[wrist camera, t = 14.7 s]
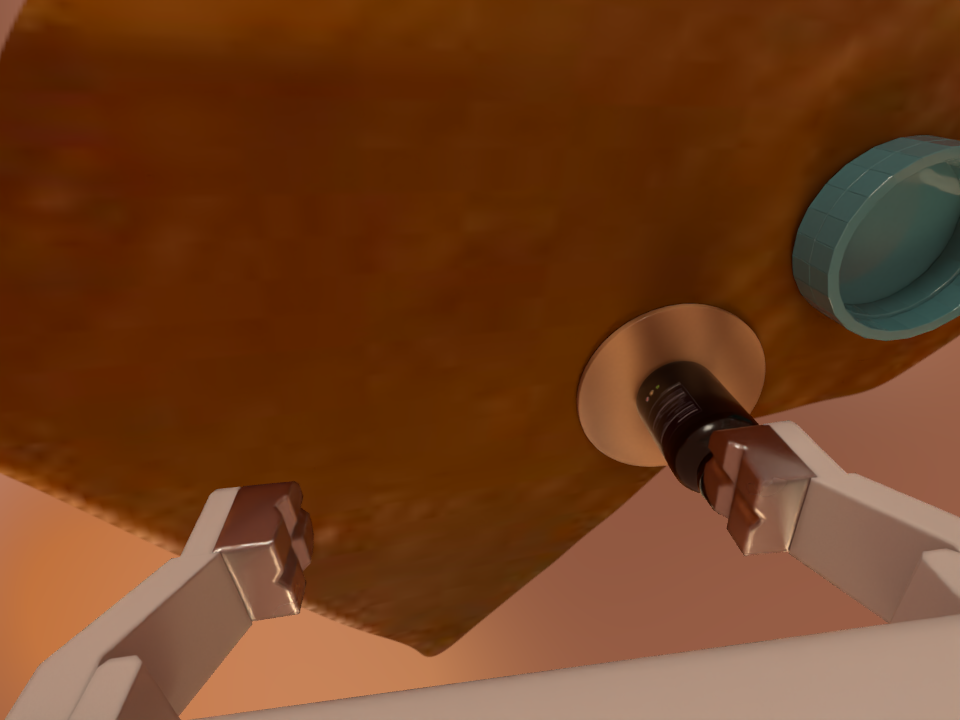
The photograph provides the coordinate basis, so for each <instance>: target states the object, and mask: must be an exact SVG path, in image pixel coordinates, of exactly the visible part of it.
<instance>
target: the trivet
mask: <svg viewBox="0 0 960 720" xmlns="http://www.w3.org/2000/svg"><path fill="white" fill-rule="evenodd" d="M676 361H692V362H696V363H699V364H701V365H703V366H704V367H706V368H707V369H708V370H709V371H710V372H711V373H712V374H713V375H714V376H715V377H716V378H717V379H718V380H719V381H720V382H721V383H722V384H723V386H724V387H725V388H726V389H727V390H728V391H729V392H730V393H731V394H732V395H733V397H734V398H735V399H736V400H737V401H738V402H739V403H740V404H741V405H742V406H743V408H744V409H745V410H746V411H747V412H748V413H749V414H750V413H751V411H752V410H753V408H754V406H755V405H756V403H757V400H758V398H759V396H760V394H761V391H762V387H763V384H764V378H765V358H764V352H763V349H762V346H761V344H760V341H759V340H758V338H757V336H756V335H755V333H754V332H753V331H752V330H751V328H750V327H749V326H748V325H747V324H746V323H744V322H743V321H742V320H741V319H739V318H738V317H737V316H735V315H733V314H732V313H730V312H728V311H726V310H723V309H721V308H718V307H714V306H709V305H704V304H678V305H672V306H666V307H663V308H659V309H656V310H652V311H650V312H648V313H645V314H643V315H640V316H639V317H637V318H635V319H633V320H631V321H629V322H628V323H626V324H625V325H623V326H622V327H620V328H619V329H618V330H616V331H615V332H614V333H613V334H612V335H610V336H609V337H608V338H607V339H606V340H605V341H604V342H603V343H602V344H601V346H600V347H599V348H598V349H597V350H596V352H595V353H594V354H593V356H592V357H591V358H590V360H589V362H588V364H587V366H586V367H585V369H584V372H583V374H582V377H581V379H580V383H579V387H578V392H577V412H578V416H579V421H580V423H581V425H582V428H583V430H584V432H585V434H586V436H587V437H588V439H589V440H590V441H591V443H592V444H593V445H594V446H595V447H596V448H597V449H598V450H600V451H601V452H602V453H603V454H605V455H607V456H609V457H610V458H612V459H614V460H617V461H619V462H622V463H626V464H630V465H635V466H646V467H654V466H665V465H668V463H667V462H666V460H665V458H664V457H663V455H662V453H661V452H660V450H659V448H658V447H657V445H656V443H655V442H654V440H653V438H652V436H651V435H650V433H649V431H648V430H647V428H646V426H645V425H644V423H643V421H642V420H641V418H640V416H639V414H638V411H637V407H636V398H637V394H638V391H639V388H640V386H641V384H642V383H643V381H644V380H645V379H646V378H647V377H648V376H649V375H650V374H651V373H652V372H653V371H654V370H656V369H657V368H659V367H661V366H663V365H665V364H668V363H671V362H676Z"/></svg>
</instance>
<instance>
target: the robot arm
mask: <svg viewBox="0 0 960 720" xmlns="http://www.w3.org/2000/svg"><path fill="white" fill-rule="evenodd" d="M708 448H709V449H710V451H711V452H712V453H713V455H714V456H713V457H712V458H711V459H710V460H709V461H708V462H707V463H706V464H705V470H704V484H705V491H706V494H707V496H708V499H709V501H710V503H711V505H712V506H713V508H714V509H715V511H716V512H718V513H720V514H721V515H723V516H725V517H726V518H728V524H727V530H728V531H729V533H730V535H731V536H732V537H733V539H734V540H735V542H736V544H737V545H738V547H739V549H740V550H741V552H742V553H743V555H744V556H747V555H757V554H767V553H777V552H786V551H789V554H790V555H791V556H793V557H794V558H796V559H797V560H799V561H800V562H802V563H803V564H804V565H806V566H807V567H809V568H810V569H812V570H813V571H814V572H816V573H817V574H819V575H820V576H822V577H823V578H824V579H826V580H827V581H829V582H830V583H832V584H833V585H835V586H836V587H837V588H839V589H840V590H842V591H843V592H845V593H846V594H847V595H849V596H851V597H852V598H853V599H855V600H856V601H858V602H859V603H861V604H862V605H863V606H865V607H866V608H868V609H869V610H870V611H872V612H874V613H875V614H876V615H878V616H879V617H881V618H882V619H884V620H885V621H886V622H888V623H889V624H884V625H876V626H869V627H862V628H854V629H847V630H840V631H833V632H825V633H818V634H811V635H804V636H796V637H789V638H781V639H774V640H767V641H760V642H753V643H745V644H738V645H731V646H725V647H716V648H709V649H702V650H695V651H688V652H681V653H673V654H666V655H658V656H651V657H644V658H638V659H630V660H622V661H615V662H608V663H600V664H593V665H586V666H578V667H571V668H564V669H556V670H549V671H542V672H534V673H527V674H520V675H513V676H505V677H498V678H490V679H483V680H476V681H469V682H462V683H454V684H447V685H440V686H432V687H425V688H417V689H410V690H403V691H396V692H388V693H381V694H374V695H366V696H359V697H352V698H345V699H337V700H330V701H323V702H316V703H308V704H301V705H294V706H287V707H279V708H272V709H265V710H257V711H250V712H243V713H235V714H228V715H221V716H214V717H207V718H200V719H192V720H960V517H958V516H955V515H953V514H951V513H948V512H946V511H944V510H941V509H939V508H936V507H934V506H932V505H929V504H927V503H925V502H922V501H920V500H917V499H915V498H913V497H910V496H908V495H906V494H903V493H901V492H899V491H896V490H894V489H892V488H889V487H887V486H885V485H882V484H880V483H878V482H875V481H873V480H870V479H868V478H866V477H863V476H861V475H859V474H856V473H852V474H847V473H846V472H845V471H844V470H843V469H842V468H841V467H840V466H839V465H838V464H837V463H836V462H835V461H833V460H832V458H831V457H829V455H827V454H826V453H825V452H824V451H823V450H822V449H821V448H820V447H819V446H818V445H817V444H816V443H815V442H814V441H813V440H812V439H811V438H810V437H809V436H808V435H807V434H806V433H805V432H804V431H803V430H802V429H801V428H800V427H799V426H798V425H797V424H796V423H794V422H791V421H782V422H774V423H767V424H763V425H756V426H748V427H740V428H732V429H725V430H717V431H713V433H712V435H711V436H710V440H709V445H708ZM302 500H303V494H302V491H301V488H300V486H299V483H297V482H295V481H292V482H281V483H271V484H261V485H251V486H243V487H235V488H225V489H216V490H215V491H214V492H213V493H211V494H210V496H209V498H208V500H207V502H206V504H205V506H204V508H203V510H202V512H201V515H200V517H199V519H198V521H197V523H196V525H195V527H194V529H193V531H192V533H191V535H190V537H189V539H188V541H187V543H186V546H185V548H184V550H183V552H182V554H181V556H180V557H178V558H172V559H170V560H169V561H168V562H167V563H165V564H164V565H163V566H162V567H160V568H159V569H158V570H157V571H155V572H154V573H153V574H152V575H150V576H149V577H148V578H147V579H145V580H144V581H143V582H142V583H140V584H139V585H138V586H137V587H136V588H134V589H133V590H132V591H130V592H129V593H128V594H127V595H126V596H125V597H123V598H122V599H121V600H119V601H118V602H117V603H116V604H114V605H113V606H112V607H111V608H109V609H108V610H107V611H106V612H104V613H103V614H102V615H101V616H100V617H98V618H97V619H96V620H95V621H93V622H92V623H91V624H90V625H88V626H87V627H86V628H85V629H83V630H82V631H81V632H80V633H78V634H77V635H76V636H75V637H73V638H72V639H71V640H70V641H68V642H67V643H66V644H65V645H64V646H62V647H61V648H60V649H59V650H57V651H56V652H55V653H54V654H52V655H51V656H50V657H49V658H47V659H46V660H45V661H44V662H42V663H41V664H40V665H39V666H38V667H37V669H36V671H35V672H34V674H33V676H32V677H31V679H30V680H29V682H28V683H27V685H26V687H25V688H24V690H23V691H22V693H21V694H20V696H19V698H18V699H17V701H16V703H15V704H14V706H13V707H12V709H11V710H10V712H9V714H8V715H7V717H6V719H5V720H180V718H179V717H178V716H179V715H180V714H181V713H182V711H183V710H184V709H185V708H186V706H187V705H188V704H189V703H190V701H191V700H192V699H193V698H194V696H195V695H196V694H197V693H198V691H199V690H200V689H201V688H202V686H203V685H204V684H205V683H206V681H207V680H208V679H209V678H210V676H211V675H212V674H213V673H214V671H215V670H216V669H217V668H218V666H219V665H220V664H221V663H222V661H223V660H224V659H225V658H226V656H227V655H228V654H229V653H230V651H231V650H232V649H233V648H234V646H235V645H236V644H237V643H238V641H239V640H240V639H241V638H242V636H243V635H244V634H245V633H246V631H247V630H248V629H249V628H250V626H251V625H252V622H251V621H257V620H264V619H270V618H276V617H283V616H288V615H295V614H299V613H300V608H301V604H302V600H303V595H304V591H305V586H306V580H305V577H304V574H303V570H304V569H305V568H306V567H307V566H308V565H309V564H310V563H311V558H312V553H313V539H314V534H313V527H312V522H311V518H310V515H309V513H308V512H306V511H305V510H303V509H302V508H301V504H302Z"/></svg>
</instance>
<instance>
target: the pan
mask: <svg viewBox="0 0 960 720" xmlns="http://www.w3.org/2000/svg"><path fill="white" fill-rule="evenodd" d="M792 254H793V255H792V262H793V276H794V278H795V281H796V283H797V286H798V288H799V291H800V293H801V295H802V296H803V297H804V298H805V299H806V300H807V301H808V302H809V303H810V304H811V306H813V307H814V308H816V309H817V310H819V311H820V312H822V313H823V314H825V315H826V316H828V317H829V318H831V319H832V320H834V321H835V322H837V323H838V324H840V325H841V326H843V327H844V328H846V329H848V330H849V331H852V332H854V333H856V334H858V335H860V336H862V337H864V338H869V339H876V340H883V341H889V340H897V339H906V338H910V337H913V336H916V335H919V334H922V333H925V332H928V331H931V330H934V329H936V328H938V327H939V326H941V325H943V324H945V323H947V322H949V321H951V320H952V319H954V318H956V317H957V316H959V315H960V141H958V140H952V139H946V138H941V137H935V136H929V135H920V136H910V137H901V138H897V139H895V140H892V141H889V142H886V143H884V144H881V145H878V146H876V147H874V148H872V149H870V150H868V151H867V152H865V153H864V154H862V155H860V156H859V157H857V158H856V159H854V160H852V161H851V162H849V163H847V164H846V165H845V166H844V167H843V168H842V169H841V170H840V171H839V172H838V173H837V174H836V175H835V176H833V177H832V178H831V179H830V180H829V181H828V182H827V183H826V184H825V186H824V187H823V188H822V190H821V191H820V192H819V194H818V195H817V196H816V198H815V199H814V200H813V202H812V203H811V205H810V206H809V207H808V209H807V212H806V214H805V216H804V218H803V220H802V222H801V224H800V226H799V229H798V232H797V235H796V240H795V244H794V249H793V253H792Z"/></svg>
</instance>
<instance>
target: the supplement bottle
mask: <svg viewBox="0 0 960 720" xmlns="http://www.w3.org/2000/svg"><path fill="white" fill-rule="evenodd" d="M636 407H637V411H638V414H639V416H640V418H641V420H642V421H643V423H644V425H645V426H646V428H647V430H648V431H649V433H650V435H651V436H652V438H653V440H654V442H655V443H656V445H657V447H658V448H659V450H660V452H661V453H662V455H663V457H664V458H665V460H666V462H667V463H668V465H669V467H670V468H671V470H672V472H673V473H674V475H675V477H676V478H677V479H678V481H679V482H680V483H681V484H682V485H684V486H685V487H687V488H689V489H690V490H692V491H695V492H698V493H701V494H702V496H703V497H704V498H705V499H706V500H707V501H708V503H709V504H710V506H711V507H712V509H713V510H714V511H715V509H714V508H713V506H712V505H711V503H710V501H709V499H708V496H707V494H706V491H705V484H704V470H705V464H706V463H707V462H708V461H709V460H710V459H711V458H712V457H713V456H714V455H713V453H712V452H711V451H710V449H709V448H708V445H709V440H710V436H711V435H712V433H713V431H717V430H725V429H732V428H740V427H748V426H756V425H759V424H758V423H757V422H756V421H755V420H754V419H753V418H752V416H751V415H750V414H749V413H748V412H747V411H746V410H745V409H744V408H743V406H742V405H741V404H740V403H739V402H738V401H737V400H736V399H735V398H734V397H733V395H732V394H731V393H730V392H729V391H728V390H727V389H726V388H725V387H724V386H723V384H722V383H721V382H720V381H719V380H718V379H717V378H716V377H715V376H714V375H713V374H712V373H711V372H710V371H709V370H708V369H707V368H706V367H704V366H703V365H701V364H699V363H696V362H692V361H676V362H671V363H668V364H665V365H663V366H661V367H659V368H657V369H656V370H654V371H653V372H652V373H651V374H650V375H649V376H648V377H647V378H646V379H645V380H644V381H643V383H642V384H641V386H640V388H639V391H638V394H637V398H636ZM717 513H718V512H717ZM718 514H720V513H718ZM720 515H721V514H720Z"/></svg>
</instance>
